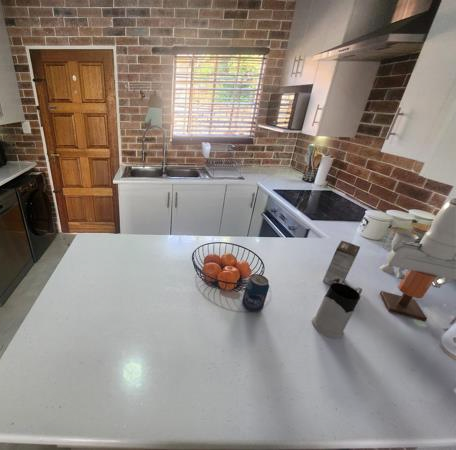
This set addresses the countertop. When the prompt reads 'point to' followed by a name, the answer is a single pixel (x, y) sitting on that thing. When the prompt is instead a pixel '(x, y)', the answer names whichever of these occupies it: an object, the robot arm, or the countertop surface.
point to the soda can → (255, 293)
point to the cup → (416, 283)
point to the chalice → (398, 237)
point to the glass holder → (336, 309)
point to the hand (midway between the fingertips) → (416, 282)
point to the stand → (402, 305)
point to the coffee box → (341, 263)
